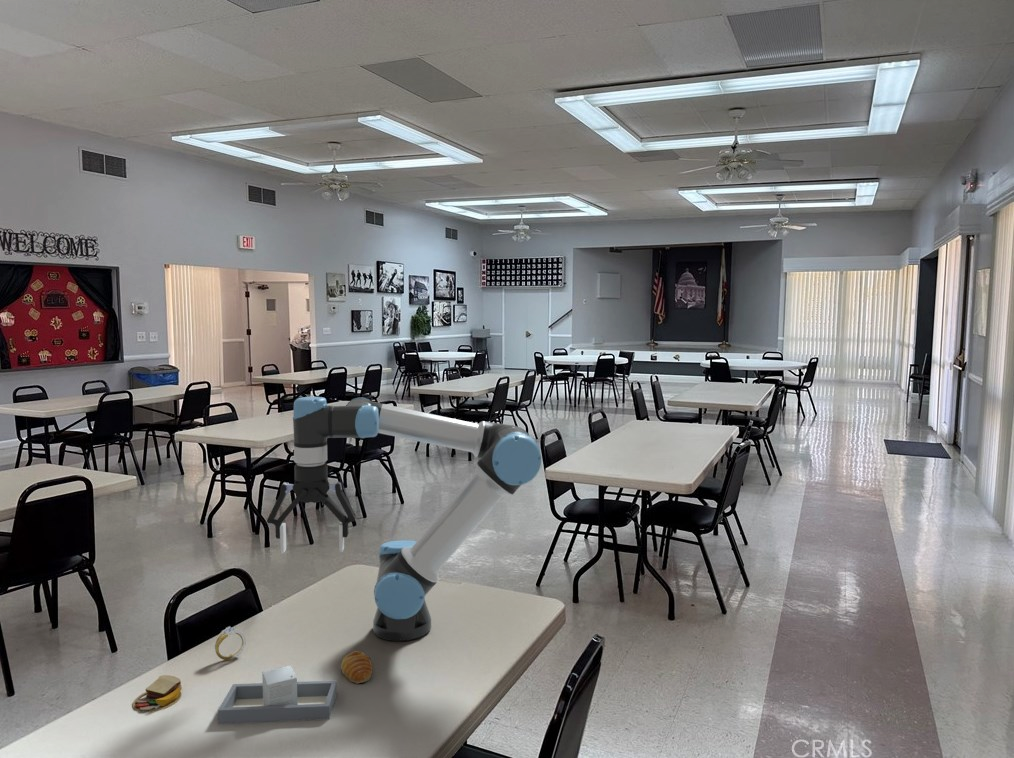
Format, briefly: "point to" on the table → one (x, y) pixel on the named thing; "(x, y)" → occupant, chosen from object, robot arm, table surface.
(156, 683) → the toy sandwich meal
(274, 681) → the product box
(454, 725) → the table surface
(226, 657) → the ring
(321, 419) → the robot arm
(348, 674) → the pastry
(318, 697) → the tray
